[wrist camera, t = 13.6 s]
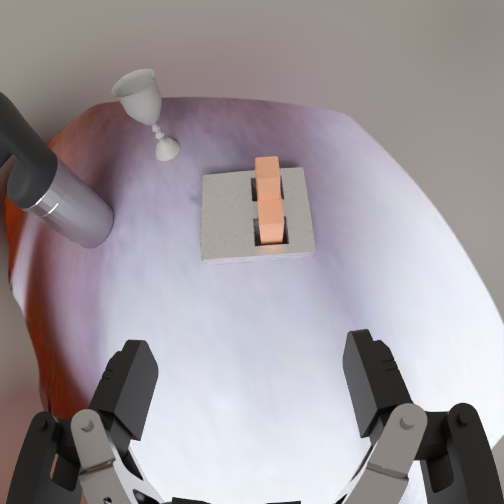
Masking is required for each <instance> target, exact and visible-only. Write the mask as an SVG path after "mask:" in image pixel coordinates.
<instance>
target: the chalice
mask: <svg viewBox="0 0 504 504" xmlns="http://www.w3.org/2000/svg"><path fill="white" fill-rule="evenodd" d="M155 75H156V74H155V71H153V70H152V69H141V70H137V71H134V72H131V73H129V74H127V75H125V76H124V77H122V78H121V79H120V80H119V81H117V82H116V84H115V85H114V86H113V88H112V91H111V93H112V95H113V96H114V97H116V98H118V99H119V101H120V102H121V104H122V106H123V108H124V109H125V111H126V113H127V114H128V115H129V116H131V117H132V118H134V119H135V120H137V121H139V122H141V123H143V124H145V125H152V131H153V132H155V133H156V135H155V138H156V139H159V142H158V143H157V145H156V158H157V159H158V160H160V161H169V160H171V159H173V158H174V157H176V156H177V155H178V153H179V151H180V145H179V144H178V143H177V142H175V141H174V140H173V139H171V138H164V132H161V131H160V128H161V127H160V126H159V125H158V124H157V123H156V122H157V121H158V120H159V117H160V112H161V107H162V97H161V94H160V92H159V89H158V87H157V85H156V82H155Z"/></svg>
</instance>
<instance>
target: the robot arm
mask: <svg viewBox="0 0 504 504" xmlns="http://www.w3.org/2000/svg"><path fill="white" fill-rule="evenodd" d="M12 154H13V155H15V156H16V157H17V160H16V162H15V164H14V166H13V169H12V171H11V173H10V176H9V180H8V184H7V185H8V186H7V194H8V197H9V199H10V201H11V202H12V203H14V204H15V205H16V206H18V207H19V208H21V209H22V210H24V211H26V212H27V213H29V214H30V215H32V216H33V217H35V218H37V219H38V220H40V221H41V222H43V223H44V224H45V225H47V226H48V227H50V228H51V229H53V230H55V231H56V232H58V233H60V234H61V235H63V236H65V237H66V238H68V239H70V240H71V241H73V242H76V243H78V244H79V245H81V246H83V247H85V248H93V247H96V246H98V245H99V244H101V243H102V242H103V241H104V240H105V239H106V237H107V236H108V235H109V233H110V231H111V228H112V225H113V218H114V216H113V211H112V209H111V207H110V206H109V205H108V204H107V203H106V202H105V201H104V200H102V199H101V198H100V197H99V196H98V195H97V194H96V193H95V192H94V191H93V190H92V189H91V188H90V187H89V186H87V185H86V184H85V183H84V182H83V181H82V180H81V179H80V178H79V177H78V176H77V175H76V174H75V173H74V172H73V171H72V170H71V169H70V168H69V167H68V166H67V165H66V164H65V163H64V162H63V161H62V160H61V159H60V158H59V157H58V156H57V155H56V154H55V153H54V152H53V151H52V150H51V149H50V148H49V147H48V146H47V145H46V144H45V142H44V141H43V140H42V139H41V138H40V136H39V135H38V134H37V133H36V132H35V131H34V130H33V129H32V128H31V127H30V125H29V124H28V123H27V122H26V120H25V119H24V118H23V116H22V115H21V114H20V113H19V111H18V110H17V108H16V107H15V106H14V105H13V103H12V102H11V101H10V100H9V99H8V98H7V97H6V96H5V95H4V94H3V93H1V92H0V168H1V167H2V166H3V165H4V163H5V162H6V161H7V160H8V159H9V158H10V156H11V155H12ZM343 369H344V373H345V377H346V381H347V385H348V388H349V392H350V396H351V400H352V404H353V408H354V412H355V416H356V420H357V424H358V428H359V432H360V437H361V438H364V437H370V441H371V445H370V446H369V448H368V450H367V452H366V454H365V456H364V457H363V459H362V461H361V463H360V464H359V466H358V468H357V469H356V471H355V473H354V474H353V476H352V478H351V479H350V481H349V482H348V484H347V485H346V487H345V488H344V489H343V491H342V492H341V493H340V495H339V496H338V497H337V499H336V500H335V502H334V503H333V504H398V503H399V501H400V499H401V497H402V495H403V493H404V491H405V489H406V487H407V485H408V481H409V478H408V472H409V470H410V467H411V465H412V463H413V461H414V460H420V465H421V470H422V475H423V480H424V485H425V491H426V496H427V503H428V504H504V499H503V494H502V490H501V485H500V481H499V477H498V473H497V469H496V465H495V462H494V458H493V455H492V452H491V449H490V446H489V443H488V440H487V437H486V434H485V431H484V428H483V426H482V423H481V420H480V418H479V415H478V413H477V411H476V409H475V408H474V407H473V406H472V405H470V404H467V403H459V404H456V405H455V406H453V407H452V408H451V409H450V411H448V412H428V411H424V410H423V409H422V408H421V407H420V406H418V405H415V404H414V403H413V401H412V400H411V397H410V395H409V392H408V390H407V388H406V385H405V383H404V380H403V378H402V376H401V373H400V371H399V369H398V366H397V364H396V362H395V361H394V357H393V355H392V353H391V351H390V348H389V347H388V346H386V345H385V344H384V343H383V342H382V341H381V340H377V341H373V339H372V336H371V334H370V332H369V330H368V329H363V330H356V331H349V332H348V335H347V340H346V345H345V349H344V354H343ZM157 379H158V365H157V363H156V360H155V358H154V356H153V354H152V352H151V350H150V348H149V346H148V344H147V342H146V341H145V340H127V341H126V343H125V345H124V347H123V349H122V351H117V352H116V353H115V354H114V355H113V357H112V358H111V359H110V360H109V362H108V364H107V366H106V369H105V371H104V373H103V375H102V379H101V380H100V382H99V384H98V386H97V389H96V391H95V393H94V396H93V398H92V400H91V403H90V405H89V407H88V409H85V410H81V411H79V412H78V413H77V414H75V416H74V417H73V418H69V419H56V418H55V417H54V416H53V415H52V414H51V413H49V412H46V411H43V412H40V413H38V414H36V415H35V416H34V418H33V419H32V421H31V424H30V427H29V429H28V432H27V434H26V437H25V440H24V443H23V446H22V448H21V451H20V454H19V457H18V461H17V464H16V467H15V470H14V474H13V477H12V481H11V485H10V489H9V493H8V497H7V502H6V504H80V501H81V496H82V490H83V492H84V495H85V497H86V500H87V502H88V504H210V503H207V502H204V501H198V500H189V499H182V498H176V497H172V502H165V503H164V501H163V499H162V498H161V496H160V495H159V494H158V492H157V491H156V490H155V489H154V488H153V487H152V486H151V484H150V483H149V482H148V480H147V478H146V477H145V475H144V473H143V471H142V469H141V467H140V465H139V463H138V461H137V459H136V457H135V455H134V453H133V451H132V449H131V447H130V446H129V444H130V440H131V439H132V440H138V441H140V440H141V436H142V432H143V428H144V425H145V421H146V417H147V414H148V410H149V406H150V403H151V399H152V396H153V392H154V389H155V385H156V382H157ZM55 454H58V459H57V462H56V466H55V470H54V473H53V477H52V480H51V478H50V472H51V468H52V464H53V461H54V457H55ZM267 504H301V501H294V502H281V503H267Z"/></svg>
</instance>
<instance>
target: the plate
mask: <svg viewBox="0 0 504 504" xmlns="http://www.w3.org/2000/svg"><path fill="white" fill-rule="evenodd" d="M279 170H280V186H281V190H282V207H283V216H284V224H285V226H286V235H287V244H279V245H265V246H255V230H254V227H256V226H259V216H258V202H257V201H253V198H252V188H254V187H256V174H255V170H252V171H240V172H229V173H220V174H210V175H203V183H202V219H201V260H202V261H203V262H204V264H205V265H215V264H230V263H245V262H259V261H273V260H287V259H301V258H313V256H314V254H315V252H316V250H315V242H314V234H313V227H312V220H311V213H310V207H309V200H308V194H307V188H306V182H305V176H304V170H303V167H300V168H280V169H279Z"/></svg>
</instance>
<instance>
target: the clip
mask: <svg viewBox="0 0 504 504" xmlns="http://www.w3.org/2000/svg"><path fill="white" fill-rule="evenodd" d="M255 174H256V188H257V202H258V216H259V228H260V237H261V246H265V245H279V244H282V239H283V230H284V216H283V207H282V198H281V190H280V170H279V162H278V156H269V157H256V160H255Z"/></svg>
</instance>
